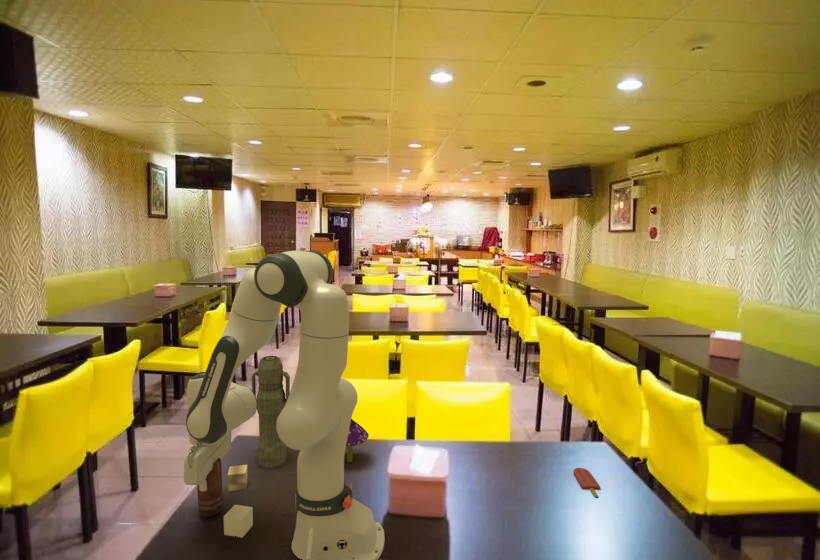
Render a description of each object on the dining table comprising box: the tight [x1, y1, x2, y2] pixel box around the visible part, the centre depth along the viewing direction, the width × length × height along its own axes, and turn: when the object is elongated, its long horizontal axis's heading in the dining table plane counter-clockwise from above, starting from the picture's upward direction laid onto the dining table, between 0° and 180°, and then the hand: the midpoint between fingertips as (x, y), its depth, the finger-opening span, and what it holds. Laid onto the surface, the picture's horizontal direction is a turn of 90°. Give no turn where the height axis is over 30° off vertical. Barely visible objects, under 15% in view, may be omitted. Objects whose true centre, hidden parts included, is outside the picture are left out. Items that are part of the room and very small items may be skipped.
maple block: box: [227, 464, 249, 492], centre depth 138 cm, size 5×5×5 cm
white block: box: [223, 504, 254, 538], centre depth 118 cm, size 5×5×5 cm
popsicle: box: [573, 467, 601, 498], centre depth 141 cm, size 5×2×15 cm
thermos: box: [251, 355, 291, 470], centre depth 150 cm, size 9×12×35 cm
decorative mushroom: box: [346, 418, 370, 463], centre depth 152 cm, size 12×12×15 cm
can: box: [196, 458, 224, 517], centre depth 123 cm, size 6×6×14 cm
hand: (210, 482), depth 123 cm, fingers closed on can, 6 cm apart
